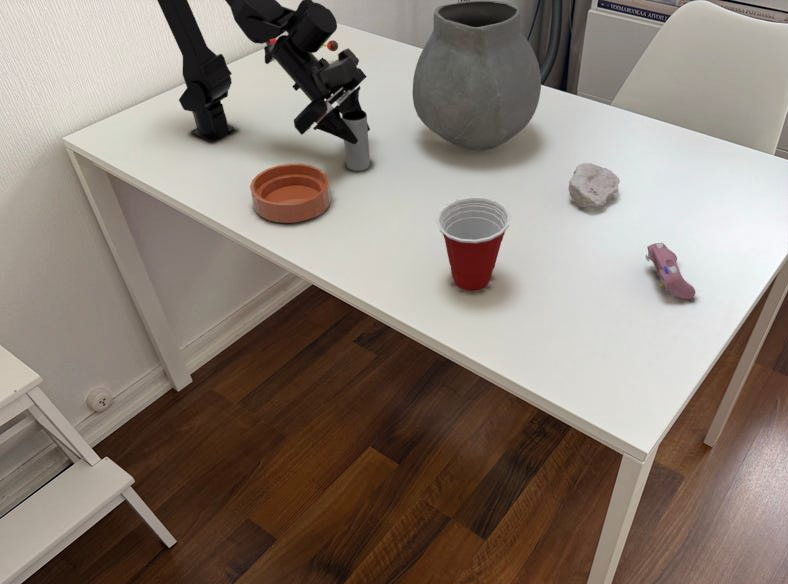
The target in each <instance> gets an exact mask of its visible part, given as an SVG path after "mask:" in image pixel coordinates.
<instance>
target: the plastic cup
mask: <svg viewBox="0 0 788 584" xmlns="http://www.w3.org/2000/svg"><path fill="white" fill-rule="evenodd" d="M511 217H512V215H511V213H510V212H509V209H508V207H507V206H505V205H504V204H503V203H501V202H500V201H499V200H496V199H492V198H489V197H485V196H467V197H463V198H457V199H455V200H452V201H451V202H448V203H446V204H445V205H444V206H443V207H442V208H441V209H440V210H439V211H438V213H437V217H436V221H435V222H436V225H437V227H438V230H439V232H440V233H442V235H443V238H444V242H445V243H444V244H445V248H446V253H447V258H448V263H449V266H450V272H451V277H452V281H453V282H454V285H455V286H456V287H458V288H459V289H461V290H462V291H467V292H477V291H481V290H483V289H485V288H487V286H488V285H489V283H490V282H491V280H492V279H491V277H492V274H493V272H494V269H495V268H496V267H495V266H496V263H497V259H498V255H499V252H500V248H501V245H502V242H503V238H504V236H505V233H506V231H507V229H508V228H509V226H510V221H511Z"/></svg>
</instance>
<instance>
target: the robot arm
mask: <svg viewBox="0 0 788 584" xmlns="http://www.w3.org/2000/svg"><path fill="white" fill-rule="evenodd" d="M156 1H157V3H158V5H159V7H160V10H161V12H162V14H163V16H164V18H165V21H166V23H167V25H168V27H169V29H170V31H171V34H172V36H173V38H174V40H175V42H176V45H177V47H178V49H179V51H180V53H181V57H182V77H183V80H184V83H185V86H186V88H185V90H184V91H183V93H182V94H181V96H180V97H179V98H178V101H179V103H180V105H181V107H182V109H183V111H187V112H191V113H192V115H193V120H194V123H195V126H196V127H195V128H194V129H191V130H190V132H191V134H192V135H194V136H196V137H199V138H201V139H203V140H205V141H208V142H211V143H212V142H215V141H218V140H219V139H221V138H223V137H225V136H227V135H229V134H231V133H233V132H235V127H234V126H231V125H229V124H228V120H227V114H226V113H225V108H224V105H223V103H222V101H223V100H224V99H226V98H227V97H228V96H229V90H230V88H231V85H232V83H233V82H232V78H231V77H232V76H231V75H232V74H233V73H232V72H231V70H230V69H229V67H228V65H227V62H226V58H225V57H224V55H223V54H222V53H219V54H216V53H215V52H214V51H213V50H211V48H209V47H208V45H207V43H206V40H205V38H204V36H203V34H202V31H201V29H200V26H199V24H198V21H197V20H196V17H195V15H194V13H193V10H192V8H191V5H190V3H189V0H156ZM224 1H225V2H226V3H227V5H228V6H229V8H230V11H231V14H232V16H233V19H234V22H235V23H236V25H237V26H238V27H239V28H240V30H241V31H242V33H243V34H244V35H245V37H246V38H247V39H248V40H249V41H250V42H252V43H253V44H260V45H262V44H263V45H264V44H266V42H267V41H269V40H270V39H276V42H275V43H274V44H272V43H270V44H269V45H267V44H266V46H264V47H263V50H264V64H266V65H269V64H270V63H271V62H273V61H276V62H277V64H279V66H280V67H281V68H282V70H284V72H285V73H286V74H287V75H288V76H289V77H290V79H291V80H292V81H293V82H294V84H293V85H292V88H293V89H294V91H295V92H297V91H298V90H301V92H303V94H304V95H305V96H306V97H307V98H308V99H309V100H310V103H309V104H308V105H305V107H304V108H303V109H302V110H301V111H300V112H299V113H298V115H296V117H295V118H294V119H293V125H294V128H295V129H296V131H297V132H298V133H299V134H300V135H301V136H303V135H304V134H305V133H306V132H307V131H309V130H310V128H311V127H312V126H313V125H314V124H316V125H315V126H313V127H312V129H313V130H314V131H316V130H319V131H322V132H324V133H327V134H330V135H332V136H334V137H336V138H339V139H341V140H343V141H344V140H345V141H347V142H350V143H352V144H356V143H357V142H358V140H357V138H356V136H355V135H354V133H353V132H352V131H351V130H350V128H349V127H348V126H347V124H346V123H345V122H344V120H343V119H342V114H343V113H344V112H345V111H347V110H351V109H359V110H363V108H362V106H361V103H360V100H359V98H360V97H359V96H360V90H361V86H360V84H361V83H362V82H363V81H365V79H366V78H367V75H366V74H365V73H364V71H363V70H362V69H361V68H359V67H358V65H359V63H360V59H359V58H358V57H357V56H356V54H355V53H354V52H353V51H352V50H351V49H350V48H345V49H343V50H341V51H340V52H338V54H337V59H336V60H334V61H333V62H328V61H327V59H326V58H324V57H321V58H320V59H318V58H317V57H316V56H315V55H314V54H315V53H317V52H318V51H320V49H322V48H323V47H324V46H323V45H324V44H325V43H327V41H328V40H329V39H330V38H331V37H332V35H334V33H335V32H336V31H337V28H338V22H337V19H336V17H335V15H334V14H333V12H332V11H331V10H330V9H329V8H327V7H326V6H324V5H323V4H321V3H319V2H315V1H313V0H301V1H300V3H299V5H298V6H297V9H295V10H294V9H291V8H288V7H286V6H283V5H282V4H281V3H280V2H278V1H277V0H224ZM284 33H287V34H284ZM322 46H323V47H322ZM321 47H322V48H321ZM334 103H337V104H336V106H335V107H333V105H334ZM367 127H368V132H369V131H370V130H371V128H370V126H369V123H368V122H367Z"/></svg>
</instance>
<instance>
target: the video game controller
mask: <svg viewBox="0 0 788 584" xmlns="http://www.w3.org/2000/svg"><path fill="white" fill-rule="evenodd" d="M646 249H647V253H645V260H646V261H648V262H650V261H651V262H652V263H653V266H654V268H655V269H654V270H655V271H656V274H657V276H658V278H659V279H660V280H661V282H659V283H660V286H661V287H662V288H664V290H665V291H666V292H667V291H668V292H670V293H671V294H673V295H674V296H675V297H677V298H679V299H682V300H691V299H693V298H694V297H695V296H696V289H695V287H694V286H693V285H692V284H690V283H689V282H688V281H686V280H685V279H684V277H683V275H682V274H681V273H682V272H681V270H680V268H679V266H678V264H677V261H678V256H677V255H676V253H674V252H673V251H672V250H670V249H669V248H668V246H667V245H666V244H664V243H663V242H662V241H661V242H656V243H652V244H650V245H647V247H646Z"/></svg>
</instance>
